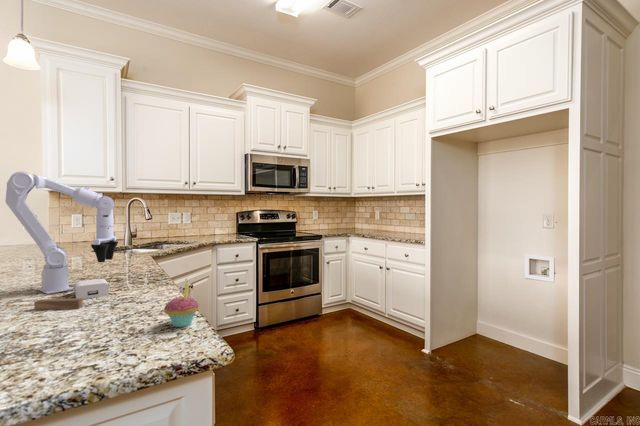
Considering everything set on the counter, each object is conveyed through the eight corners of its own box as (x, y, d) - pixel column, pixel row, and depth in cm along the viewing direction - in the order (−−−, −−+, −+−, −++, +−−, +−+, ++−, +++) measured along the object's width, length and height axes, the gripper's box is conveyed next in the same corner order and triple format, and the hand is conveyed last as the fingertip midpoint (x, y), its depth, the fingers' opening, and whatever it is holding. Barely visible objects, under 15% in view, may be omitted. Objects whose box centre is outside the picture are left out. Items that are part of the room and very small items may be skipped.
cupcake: (205, 320, 93) (205, 277, 92) (183, 331, 85) (183, 284, 84) (180, 317, 96) (180, 275, 95) (156, 327, 88) (156, 281, 87)
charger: (103, 287, 129) (108, 296, 117) (73, 291, 123) (76, 300, 112) (103, 275, 129) (108, 282, 117) (73, 278, 123) (76, 286, 111)
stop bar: (39, 307, 103) (39, 299, 103) (82, 306, 105) (82, 298, 105) (34, 310, 101) (34, 301, 101) (78, 308, 103) (78, 300, 103)
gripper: (107, 227, 126) (107, 263, 126) (123, 225, 140) (123, 257, 140) (86, 227, 125) (87, 264, 125) (105, 225, 139) (105, 258, 139)
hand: (105, 260), depth 133 cm, fingers open, 6 cm apart
